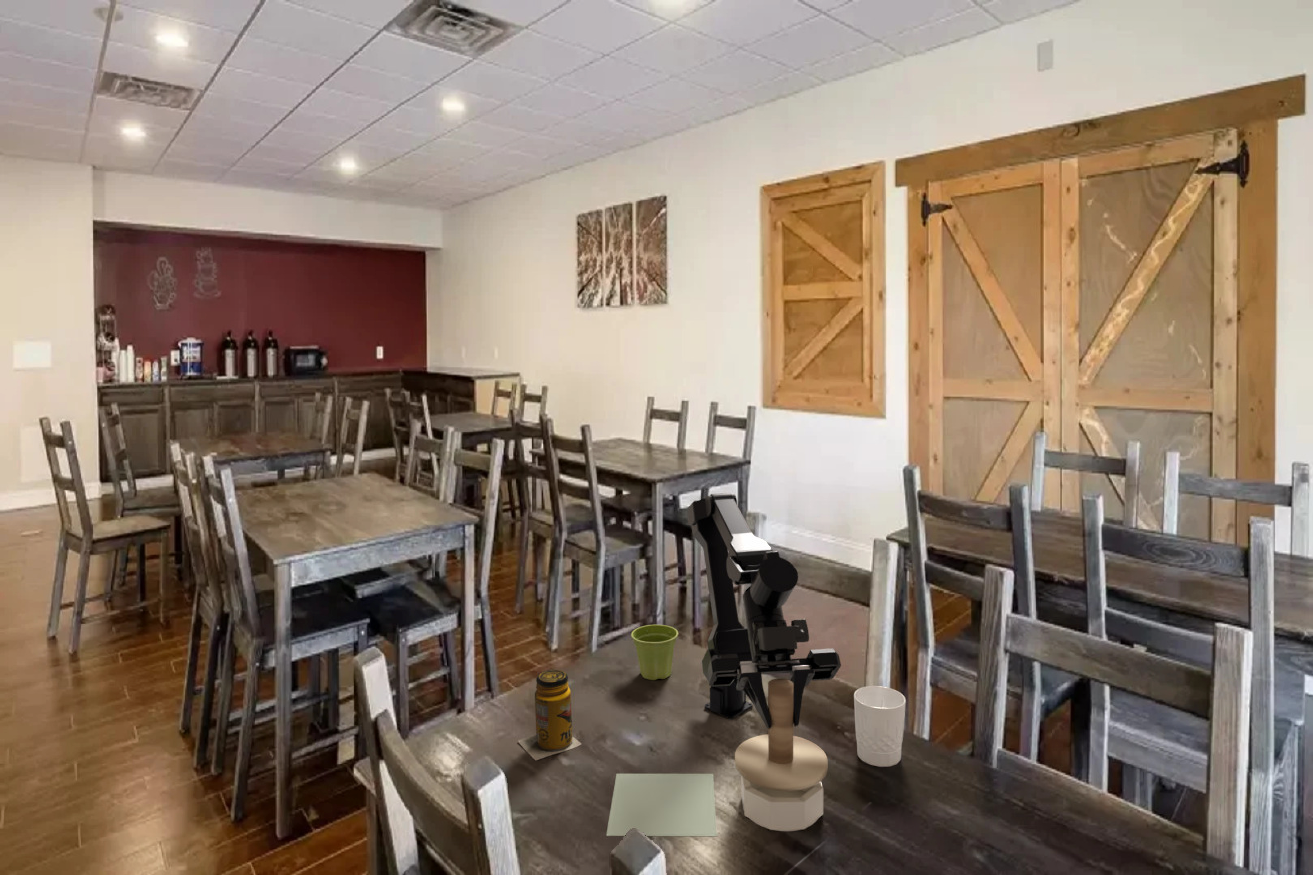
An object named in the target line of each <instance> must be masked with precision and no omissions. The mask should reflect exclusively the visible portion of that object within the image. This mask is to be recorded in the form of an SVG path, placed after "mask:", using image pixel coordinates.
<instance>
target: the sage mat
mask: <svg viewBox="0 0 1313 875" xmlns="http://www.w3.org/2000/svg"><path fill="white" fill-rule="evenodd" d="M615 775H616V776H615V780H614V781H615V782H614V788H613V792H612V797H611V798H612V799H611V806H610V810H609V817H608V823H607V830H606V835H605V836H606V837H626V836H625V835H626V833H627V832H628V831H629V830H630V829H632V828H636V829H638V830H640V832H644V834H645V835H646V836H645V837H717V819H716V818H717V817H716V802H715V801H716V800H715V785H714V784H715V783H714V773H616V774H615Z"/></svg>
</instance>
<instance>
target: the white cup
mask: <svg viewBox="0 0 1313 875" xmlns="http://www.w3.org/2000/svg"><path fill="white" fill-rule="evenodd" d="M853 702H854V703H853V704H854V724H855V725H854V730H855V739H856V749H857V757H858V758H859V759H860V760H861V761H862V762H863V763H865V764H868V765H871V766H876V767H879V768H884V767H886V768H887V767H892V766H895V765H897V764H898V763H900V761H901V760H902V744H903V738H904V730H905V713H906V703H907V702H906V697H905V696H904V695H903V693H901V692H900V691H898V690H895V689H894V688H891V687H885V686H881V685H867V686H863V687H860V688H858V689H856V690H855V691H854V693H853Z"/></svg>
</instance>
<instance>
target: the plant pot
mask: <svg viewBox="0 0 1313 875" xmlns="http://www.w3.org/2000/svg"><path fill="white" fill-rule="evenodd" d="M630 634H631V635H630V637H631V639H632V640H633V643H634V645H635V649H636V654H637V659H638V665H639V671H640V674H641V677H642V678H644V679H647V680H650V681H656V680H658V679H659V680H660V679H661V680H665V679H667V678H668V677H670V676H671V674H672V667H673V659H674V650H675V649H674V648H675V644H676V642H677V638H678V636H679V631H678V630H677V628H674V626H669V625H667V624H666V625H665V624H648V625H643V626H639V627H637V628H635V629H634V630H632V631H631V633H630Z"/></svg>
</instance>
